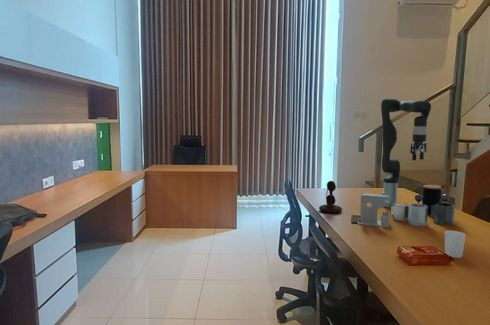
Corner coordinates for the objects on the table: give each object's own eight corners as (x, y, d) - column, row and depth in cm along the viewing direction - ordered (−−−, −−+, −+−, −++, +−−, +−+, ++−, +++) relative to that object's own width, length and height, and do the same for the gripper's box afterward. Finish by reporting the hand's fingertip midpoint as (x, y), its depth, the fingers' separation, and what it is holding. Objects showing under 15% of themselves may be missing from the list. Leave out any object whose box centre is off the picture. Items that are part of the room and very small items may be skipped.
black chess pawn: (319, 208, 242) (319, 179, 240) (341, 209, 239) (342, 180, 237) (319, 213, 228) (319, 183, 226) (342, 215, 225) (343, 184, 223)
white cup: (439, 252, 160) (440, 230, 159) (455, 251, 161) (457, 230, 160) (451, 258, 153) (452, 236, 151) (468, 258, 153) (469, 235, 152)
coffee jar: (442, 216, 223) (444, 188, 221) (424, 215, 226) (425, 187, 224) (436, 211, 234) (438, 185, 232) (419, 211, 236) (421, 184, 234)
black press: (428, 221, 210) (429, 193, 208) (433, 219, 216) (435, 191, 214) (450, 226, 202) (452, 196, 200) (454, 222, 208) (456, 194, 206)
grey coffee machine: (389, 223, 207) (391, 192, 205) (389, 227, 198) (391, 196, 196) (358, 219, 214) (360, 190, 212) (357, 224, 204) (358, 193, 202)
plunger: (410, 222, 205) (411, 194, 203) (413, 220, 209) (415, 192, 208) (420, 224, 201) (422, 195, 199) (424, 222, 205) (426, 194, 203)
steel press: (401, 223, 207) (402, 204, 206) (407, 220, 214) (408, 202, 212) (422, 227, 199) (423, 208, 198) (428, 224, 205) (429, 205, 204)
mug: (407, 218, 218) (408, 204, 217) (407, 221, 211) (408, 206, 210) (391, 216, 222) (391, 202, 221) (390, 219, 215) (391, 205, 214)
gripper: (419, 134, 210) (417, 161, 212) (431, 133, 218) (429, 159, 220) (407, 133, 216) (405, 160, 218) (419, 133, 224) (418, 158, 226)
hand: (417, 159), depth 219 cm, fingers open, 8 cm apart
